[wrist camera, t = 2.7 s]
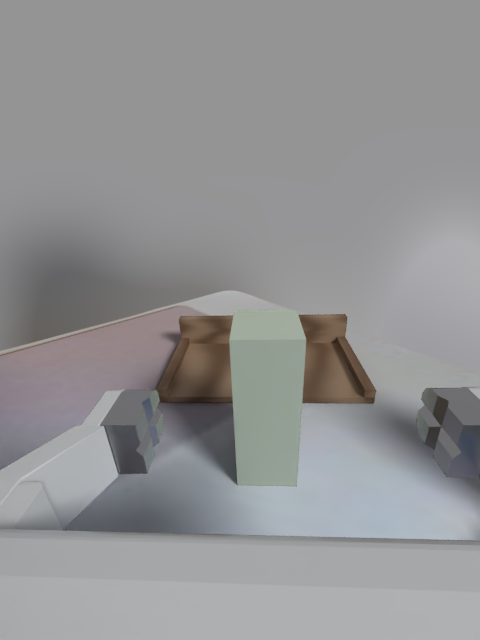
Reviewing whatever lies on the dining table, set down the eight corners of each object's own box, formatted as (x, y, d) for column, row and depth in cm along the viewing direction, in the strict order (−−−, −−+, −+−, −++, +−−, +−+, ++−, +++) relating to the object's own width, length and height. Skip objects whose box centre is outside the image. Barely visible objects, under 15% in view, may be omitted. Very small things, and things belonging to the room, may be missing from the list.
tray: (158, 402, 35) (152, 366, 33) (184, 344, 48) (180, 316, 46) (373, 403, 34) (380, 366, 32) (341, 343, 47) (345, 314, 45)
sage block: (237, 485, 25) (229, 339, 20) (240, 439, 30) (234, 310, 24) (296, 486, 25) (306, 339, 19) (290, 439, 30) (296, 309, 24)
